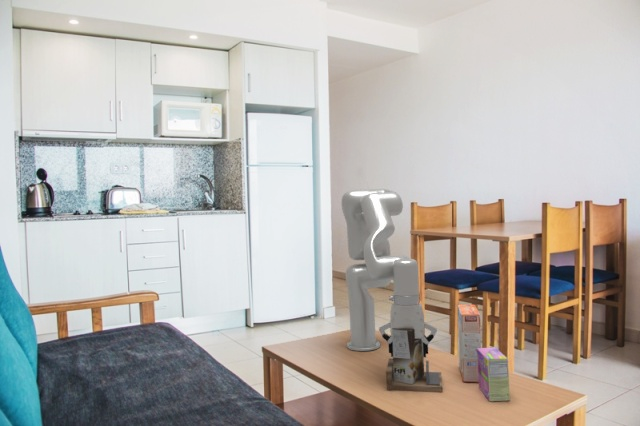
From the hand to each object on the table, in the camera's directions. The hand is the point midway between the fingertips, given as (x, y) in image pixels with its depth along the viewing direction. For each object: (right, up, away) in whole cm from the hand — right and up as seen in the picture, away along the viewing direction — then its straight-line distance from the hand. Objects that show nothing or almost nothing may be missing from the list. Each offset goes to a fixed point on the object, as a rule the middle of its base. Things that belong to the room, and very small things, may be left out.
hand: (408, 355), depth 153 cm
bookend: (+7, -7, -1) cm, 10 cm away
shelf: (+2, -8, 0) cm, 9 cm away
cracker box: (+20, -8, +5) cm, 22 cm away
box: (+22, -8, -11) cm, 26 cm away
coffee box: (0, -7, 0) cm, 7 cm away
